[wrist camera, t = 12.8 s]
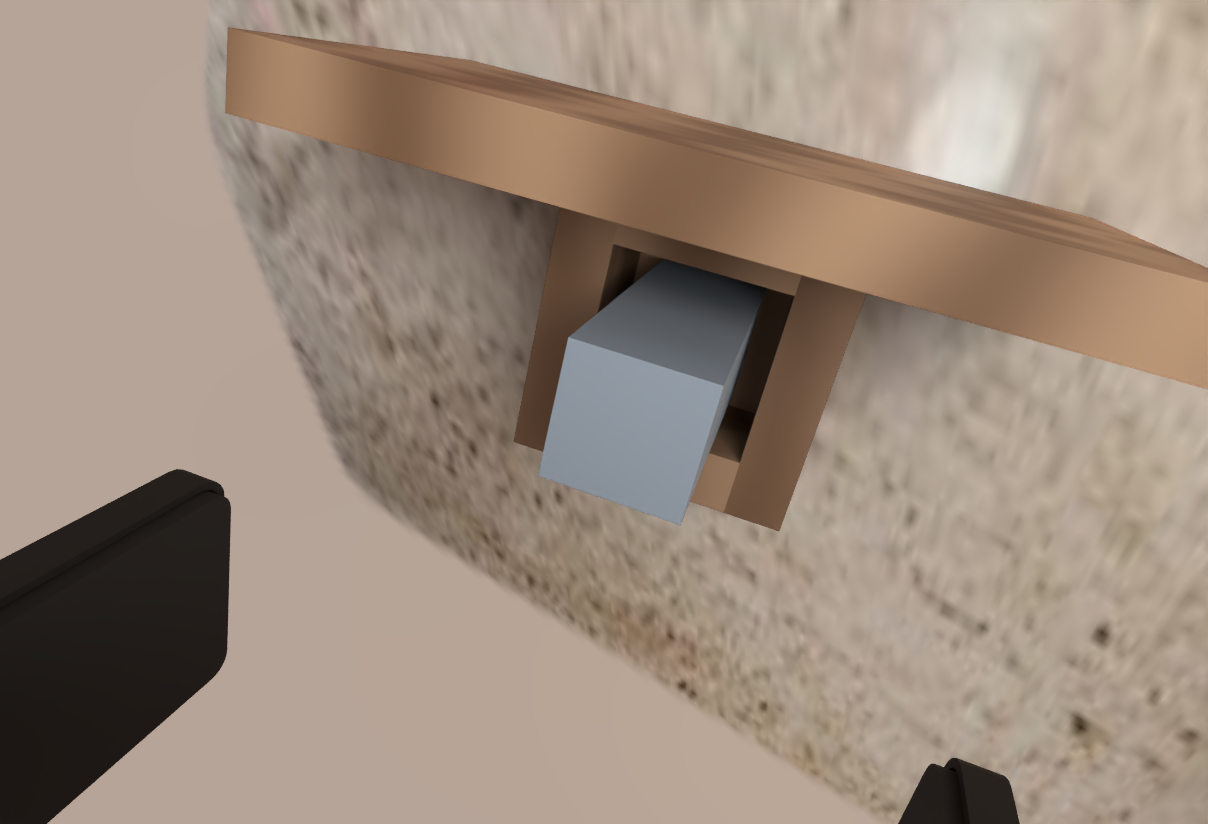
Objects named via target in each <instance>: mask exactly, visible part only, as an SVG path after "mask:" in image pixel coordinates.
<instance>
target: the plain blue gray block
mask: <svg viewBox="0 0 1208 824" xmlns="http://www.w3.org/2000/svg"><path fill="white" fill-rule="evenodd" d="M766 290H767V288H765V287H762V286H758V285H755V284H751V283H748V282H744V281H741V280H737V279H734V278H730V277H727V276H723V275H720V274H716V273H713V272H709V271H706V270H702V269H699V268H695V267H692V266H688V265H685V264H681V263H678V262H674V261H671V260H667V259H663V260H662V261H661V262H660V263H658V264H657V265H656V266H655V267H654V268H652V269H651V270H650V271H649V272H647V273H646V274H645V275H644V276H643V277H641V278H640V279H639V280H638V281H637V282H635V283H634V284H633V285H632V286H630V287H629V288H628V289H627V290H626V291H624V292H623V293H622V294H621V295H619V296H618V297H617V298H616V299H615V300H613V301H612V302H611V303H610V304H608V305H607V306H606V307H605V308H604V309H602V310H601V311H600V312H599V313H597V314H596V315H595V316H594V317H593V318H591V319H590V320H589V321H588V322H586V323H585V324H584V325H583V326H582V327H580V328H579V329H578V330H577V331H575V332H574V333H573V334H572V335H571V336H569V337H568V341H567V346H566V350H565V355H564V360H563V364H562V369H561V373H560V378H559V382H558V387H557V391H556V396H555V401H554V405H553V410H552V414H551V419H550V423H549V428H548V432H547V437H546V441H545V446H544V451H543V455H542V460H541V464H540V469H539V473H538V476H540V477H543V478H546V479H549V480H551V481H554V482H557V483H560V484H563V485H566V486H569V487H572V488H574V489H577V490H580V491H583V492H586V493H589V494H592V495H595V496H597V497H600V498H603V499H606V500H609V501H612V502H615V503H618V504H621V505H623V506H626V507H629V508H632V509H635V510H638V511H641V512H644V513H646V514H649V515H652V516H655V517H658V518H661V519H664V520H667V521H670V522H672V523H675V524H678V525H681V523H682V520H683V518H684V515H685V512H686V510H687V507H688V505H689V502H690V500H691V497H692V495H693V492H694V490H695V487H696V485H697V482H698V480H699V477H700V475H701V472H702V470H703V467H704V465H705V462H706V460H707V457H708V455H709V452H710V449H711V447H712V444H713V442H714V439H715V437H716V434H717V432H718V429H719V427H720V424H721V422H722V419H723V417H724V414H725V412H726V409H727V407H728V404H729V402H730V399H731V397H732V394H733V392H734V389H735V386H736V384H737V381H738V378H739V375H740V371H741V368H742V365H743V362H744V359H745V356H746V353H747V349H748V346H749V343H750V340H751V337H752V334H753V331H754V327H755V324H756V321H757V318H758V315H759V312H760V309H761V305H762V302H763V299H764V296H765V293H766Z"/></svg>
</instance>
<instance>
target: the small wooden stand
mask: <svg viewBox="0 0 1208 824" xmlns="http://www.w3.org/2000/svg"><path fill="white" fill-rule="evenodd" d="M225 113H228V114H231V115H235V116H238V117H242V118H246V119H249V120H253V121H256V122H260V123H263V124H267V125H270V126H274V127H278V128H281V129H285V130H288V131H292V132H295V133H299V134H302V135H306V136H310V137H313V138H317V139H320V140H324V141H327V142H331V143H334V144H338V145H341V146H345V147H349V148H352V149H356V150H359V151H363V152H366V153H370V154H373V155H377V156H381V157H384V158H388V159H391V160H395V161H398V162H402V163H405V164H409V165H413V166H416V167H420V168H423V169H427V170H430V171H434V172H437V173H441V174H445V175H448V176H452V177H455V178H459V179H462V180H466V181H469V182H473V183H477V184H480V185H484V186H487V187H491V188H494V189H498V190H501V191H505V192H508V193H512V194H516V195H519V196H523V197H526V198H530V199H533V200H537V201H540V202H544V203H548V204H551V205H555V206H558V207H560V209H559V214H558V220H557V225H556V230H555V235H554V240H553V245H552V250H551V255H550V260H549V265H548V270H547V275H546V280H545V285H544V291H543V296H542V301H541V306H540V311H539V316H538V321H537V326H536V331H535V336H534V341H533V346H532V351H531V356H530V361H529V367H528V372H527V377H526V382H525V387H524V392H523V397H522V402H521V407H520V412H519V417H518V422H517V427H516V432H515V437H514V442H516V443H519V444H522V445H525V446H528V447H531V448H534V449H537V450H540V451H544V446H545V441H546V437H547V432H548V428H549V423H550V419H551V414H552V410H553V405H554V401H555V396H556V391H557V387H558V382H559V378H560V373H561V369H562V364H563V360H564V355H565V350H566V346H567V341H568V337H569V336H571V335H572V334H573V333H574V332H575V331H577V330H578V329H579V328H580V327H582V326H583V325H584V324H585V323H586V322H588V321H589V320H590V319H591V318H593V317H594V316H595V315H596V314H597V313H599V312H600V311H601V310H602V309H604V308H605V307H606V306H607V305H608V304H610V303H611V302H612V301H613V300H615V299H616V298H617V297H618V296H619V295H621V294H622V293H623V292H624V291H626V290H627V289H628V288H629V287H630V286H632V285H633V284H634V283H635V282H637V281H638V280H639V279H640V278H641V277H643V276H644V275H645V274H646V273H647V272H649V271H650V270H651V269H652V268H654V267H655V266H656V265H657V264H658V263H660V262H661V261H662V260H663V259H667V260H671V261H674V262H678V263H681V264H685V265H688V266H692V267H695V268H699V269H702V270H706V271H709V272H713V273H716V274H720V275H723V276H727V277H730V278H734V279H737V280H741V281H744V282H748V283H751V284H755V285H758V286H762V287H765V288H767V290H766V293H765V296H764V299H763V302H762V305H761V309H760V312H759V315H758V318H757V321H756V324H755V327H754V331H753V334H752V337H751V340H750V343H749V346H748V349H747V353H746V356H745V359H744V362H743V365H742V368H741V371H740V375H739V378H738V381H737V384H736V386H735V389H734V392H733V394H732V397H731V399H730V402H729V404H728V407H727V409H726V412H725V414H724V417H723V419H722V422H721V424H720V427H719V429H718V432H717V434H716V437H715V439H714V442H713V444H712V447H711V449H710V452H709V455H708V457H707V460H706V462H705V465H704V467H703V470H702V472H701V475H700V477H699V480H698V482H697V485H696V487H695V490H694V492H693V495H692V497H691V500H690V501H691V502H694V503H697V504H700V505H703V506H706V507H709V508H712V509H714V510H717V511H720V512H723V513H726V514H729V515H732V516H735V517H738V518H741V519H744V520H747V521H750V522H753V523H756V524H759V525H762V526H765V527H768V528H771V529H774V530H777V531H779V530H780V528H781V525H782V522H783V519H784V517H785V514H786V511H787V509H788V506H789V503H790V500H791V498H792V495H793V492H794V489H795V487H796V484H797V481H798V479H799V476H800V473H801V470H802V468H803V465H804V462H805V459H806V457H807V454H808V451H809V448H810V446H811V443H812V440H813V438H814V435H815V432H816V429H817V427H818V424H819V421H820V418H821V416H822V413H823V410H824V408H825V405H826V402H827V399H828V397H829V394H830V391H831V388H832V386H833V383H834V380H835V377H836V375H837V372H838V369H839V367H840V364H841V361H842V358H843V356H844V353H845V350H846V347H847V345H848V342H849V339H850V337H851V334H852V331H853V328H854V326H855V323H856V320H857V317H858V315H859V312H860V309H861V306H862V304H863V301H864V298H865V296H866V293H867V294H871V295H874V296H878V297H882V298H885V299H889V300H892V301H896V302H899V303H903V304H906V305H910V306H914V307H917V308H921V309H924V310H928V311H931V312H935V313H938V314H942V315H946V316H949V317H953V318H956V319H960V320H963V321H967V322H970V323H974V324H978V325H981V326H985V327H988V328H992V329H995V330H999V331H1002V332H1006V333H1009V334H1013V335H1017V336H1020V337H1024V338H1027V339H1031V340H1034V341H1038V342H1041V343H1045V344H1049V345H1052V346H1056V347H1059V348H1063V349H1066V350H1070V351H1073V352H1077V353H1081V354H1084V355H1088V356H1091V357H1095V358H1098V359H1102V360H1105V361H1109V362H1113V363H1116V364H1120V365H1123V366H1127V367H1130V368H1134V369H1137V370H1141V371H1145V372H1148V373H1152V374H1155V375H1159V376H1162V377H1166V378H1169V379H1173V380H1176V381H1180V382H1184V383H1187V384H1191V385H1194V386H1198V387H1201V388H1205V389H1208V268H1206V267H1204V266H1202V265H1200V264H1197V263H1195V262H1193V261H1190V260H1188V259H1186V258H1183V257H1181V256H1179V255H1176V254H1174V253H1172V252H1170V251H1167V250H1165V249H1163V248H1160V247H1158V246H1156V245H1153V244H1151V243H1149V242H1146V241H1144V240H1142V239H1139V238H1137V237H1135V236H1133V235H1130V234H1128V233H1126V232H1123V231H1121V230H1119V229H1116V228H1114V227H1112V226H1109V225H1107V224H1105V223H1103V222H1100V221H1098V220H1096V219H1093V218H1090V217H1086V216H1082V215H1078V214H1074V213H1070V212H1066V211H1062V210H1058V209H1054V208H1050V207H1046V206H1043V205H1039V204H1035V203H1031V202H1027V201H1023V200H1019V199H1015V198H1011V197H1007V196H1003V195H999V194H995V193H991V192H987V191H983V190H979V189H976V188H972V187H968V186H964V185H960V184H956V183H952V182H948V181H944V180H940V179H936V178H932V177H928V176H924V175H920V174H916V173H912V172H909V171H905V170H901V169H897V168H893V167H889V166H885V165H881V164H877V163H873V162H869V161H865V160H861V159H857V158H853V157H849V156H845V155H842V154H838V153H834V152H830V151H826V150H822V149H818V148H814V147H810V146H806V145H802V144H798V143H794V142H790V141H786V140H782V139H778V138H775V137H771V136H767V135H763V134H759V133H755V132H751V131H747V130H743V129H739V128H735V127H731V126H727V125H723V124H719V123H715V122H711V121H708V120H704V119H700V118H696V117H692V116H688V115H684V114H680V113H676V112H672V111H668V110H664V109H660V108H656V107H652V106H648V105H644V104H641V103H637V102H633V101H629V100H625V99H621V98H617V97H613V96H609V95H605V94H601V93H597V92H593V91H589V90H585V89H581V88H577V87H573V86H570V85H566V84H562V83H558V82H554V81H550V80H546V79H542V78H538V77H534V76H530V75H526V74H522V73H518V72H514V71H510V70H506V69H503V68H499V67H495V66H491V65H487V64H483V63H479V62H475V61H471V60H465V59H457V58H450V57H443V56H435V55H428V54H420V53H413V52H406V51H398V50H391V49H383V48H376V47H369V46H361V45H354V44H346V43H339V42H332V41H324V40H317V39H309V38H302V37H295V36H287V35H280V34H272V33H265V32H258V31H250V30H243V29H235V28H228V40H227V74H226V109H225Z"/></svg>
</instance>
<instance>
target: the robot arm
mask: <svg viewBox="0 0 1208 824" xmlns="http://www.w3.org/2000/svg"><path fill="white" fill-rule="evenodd" d="M230 517H231V506H230V502H229V500H228V499H227V498H226V497H224V490H223V488H222V486H221V485H220V484H218V483H217V482H215V481H212V480H209V479H207V478H204V477H201V476H199V475H196V474H193V473H191V472H188V471H185V470H178V469H176V470H173V471H170V472H168V473H166V474H164V475H162V476H160V477H158V478H156V479H154V480H152V481H151V482H149V483H147V484H145V485H143V486H141V487H139V488H137V489H135V490H133V491H132V492H129V493H128V494H126V495H124V496H122V497H120V498H118V499H116V500H115V501H112V502H111V503H108V504H106V505H105V506H103V507H101V508H99V509H97V510H95V511H93V512H91V513H89V514H87V515H85V516H83V517H82V518H80V519H78V520H76V521H74V522H72V523H70V524H68V525H66V526H64V527H62V528H60V529H59V530H57V531H55V532H53V533H51V534H49V535H47V536H45V537H43V538H41V539H39V540H37V541H36V542H34V543H32V544H30V545H28V546H26V547H24V548H22V549H20V550H18V551H16V552H14V553H12V554H11V555H9V556H7V557H5V558H3V559H1V560H0V824H47V823H48V822H49V821H50V820H51V819H52V818H54V817H55V816H56V815H57V814H58V813H59V812H61V811H62V809H64V808H65V807H66V806H67V805H69V804H70V803H71V802H72V801H73V800H74V799H75V798H76V797H78V796H79V795H80V794H81V793H82V792H83V791H84V790H86V789H87V788H88V787H89V786H90V785H91V784H92V783H94V782H95V781H96V780H97V779H98V778H99V777H100V776H102V775H103V774H104V773H105V772H106V771H107V770H108V769H109V768H111V767H112V766H113V765H114V764H115V763H116V762H118V761H119V760H120V759H121V758H122V757H123V756H124V755H125V754H127V753H128V752H129V751H130V750H131V749H132V748H134V747H135V746H136V745H137V744H138V743H139V742H140V741H142V740H143V739H144V738H145V737H146V736H147V735H148V734H150V733H151V732H152V731H153V730H154V729H155V728H156V727H157V726H159V725H160V724H161V723H162V722H163V721H164V720H166V719H167V718H168V717H169V716H170V715H171V714H172V713H174V712H175V711H176V710H177V709H178V708H179V707H180V706H181V705H183V704H184V703H185V702H186V701H187V700H188V699H189V698H191V697H192V696H193V695H194V694H195V693H196V692H198V690H200V689H201V688H202V687H203V686H204V685H205V684H207V683H208V682H209V681H210V680H211V679H212V678H213V677H214V676H215V675H216V674H217V673H218V671H219V670H220V668H221V667H222V665H223V663H224V660H225V657H226V654H227V636H228V598H229V597H228V596H229V560H230V559H229V558H230V522H231V518H230ZM898 824H1019V819H1018V815H1017V810H1016V806H1015V801H1014V797H1013V793H1012V788H1011V785H1010V783H1009V780H1008V779H1007V778H1006V777H1005V776H1003V775H1000V774H998V773H995V772H992V771H990V770H987V769H984V768H982V767H979V766H976V765H974V764H971V763H968V762H966V761H963V760H960V759H958V758H952V759H950V760H949V761H948V762H947V764H946V765H945V767H941V766H939V765H936V764H930V765H929V766H928V768H927V769H926V771H925V772H924V774H923V776H922V778H921V780H920V782H919V784H918V786H917V788H916V790H915V792H914V794H913V796H912V798H911V800H910V802H909V804H908V806H907V808H906V810H905V811H904V813H903V815H902V817H901V819H900V821H899V823H898Z"/></svg>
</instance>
